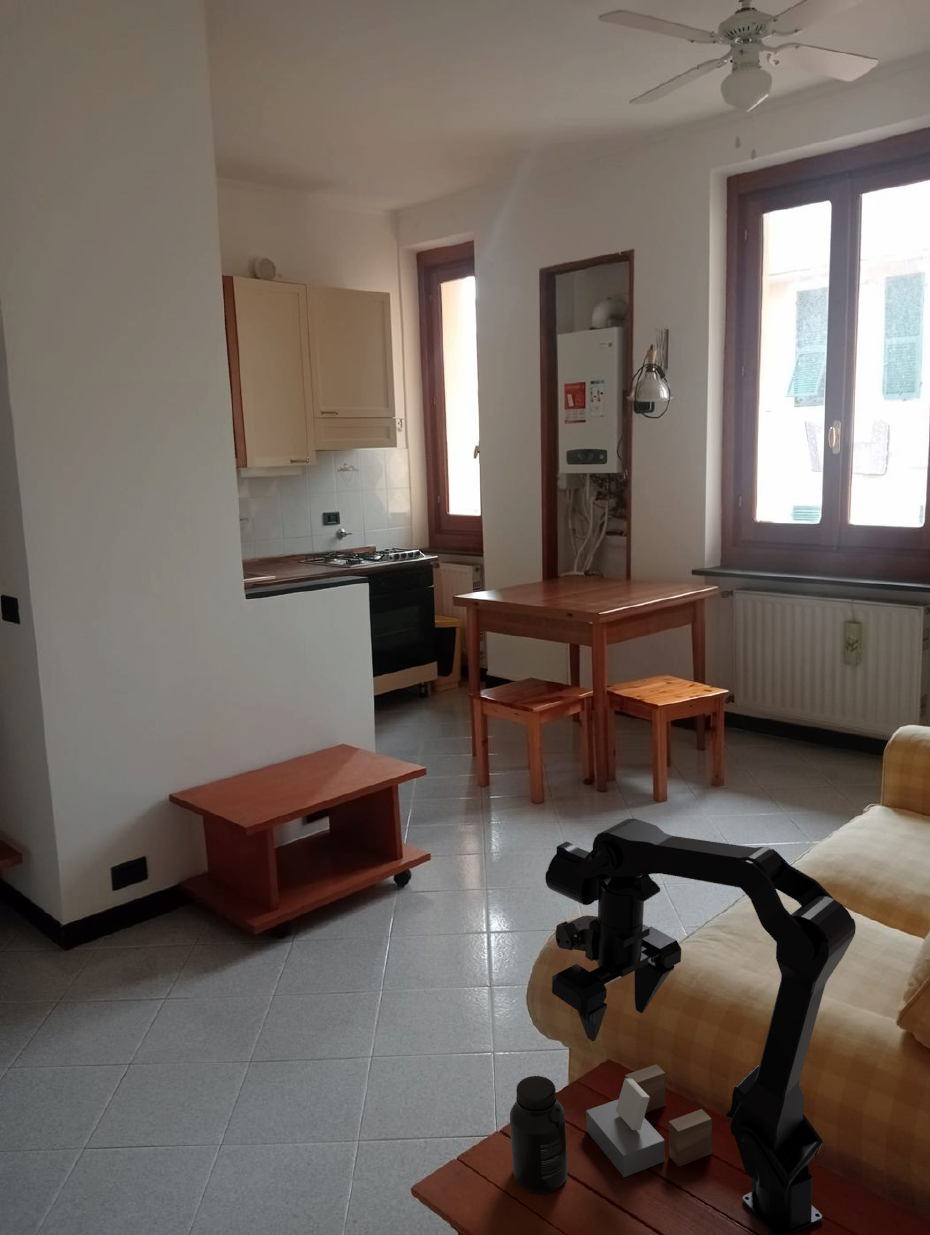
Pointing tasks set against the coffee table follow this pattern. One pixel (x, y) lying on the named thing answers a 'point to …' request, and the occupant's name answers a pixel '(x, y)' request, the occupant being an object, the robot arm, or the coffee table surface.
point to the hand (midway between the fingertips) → (615, 1024)
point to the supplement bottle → (538, 1136)
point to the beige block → (690, 1137)
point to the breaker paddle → (632, 1104)
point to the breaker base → (624, 1140)
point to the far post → (651, 1085)
